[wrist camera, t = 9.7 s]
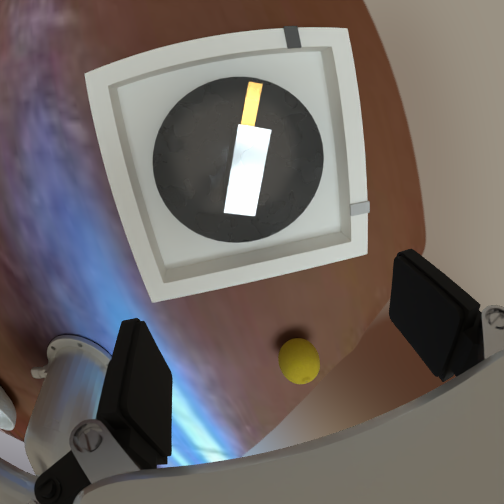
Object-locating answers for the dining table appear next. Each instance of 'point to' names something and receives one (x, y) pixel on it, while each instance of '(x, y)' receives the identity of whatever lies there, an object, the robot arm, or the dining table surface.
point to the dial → (238, 159)
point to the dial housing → (186, 80)
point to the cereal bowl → (6, 411)
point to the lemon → (299, 361)
